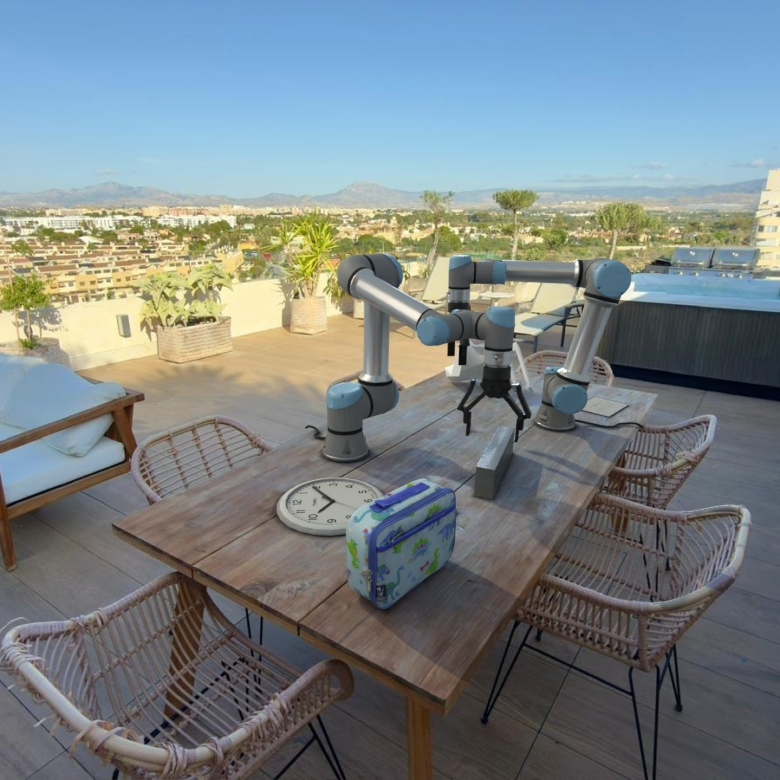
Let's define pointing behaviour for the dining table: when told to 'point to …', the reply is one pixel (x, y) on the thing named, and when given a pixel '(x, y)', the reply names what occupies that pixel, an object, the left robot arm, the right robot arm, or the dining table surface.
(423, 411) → the dining table surface
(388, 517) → the lunch box
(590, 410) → the invitation card
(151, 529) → the dining table surface
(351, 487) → the wall clock
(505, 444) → the bar
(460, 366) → the white plastic object
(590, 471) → the dining table surface
